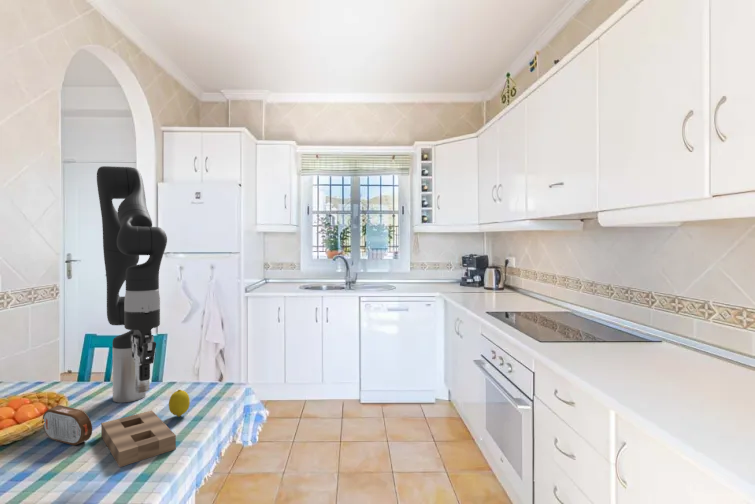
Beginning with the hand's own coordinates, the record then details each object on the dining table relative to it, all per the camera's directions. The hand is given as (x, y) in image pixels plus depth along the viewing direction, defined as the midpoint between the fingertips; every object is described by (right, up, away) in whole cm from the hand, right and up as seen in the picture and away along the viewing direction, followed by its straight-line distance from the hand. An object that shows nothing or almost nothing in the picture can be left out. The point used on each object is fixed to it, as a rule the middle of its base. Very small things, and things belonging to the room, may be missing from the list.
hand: (142, 378), depth 99 cm
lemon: (-1, -18, +20) cm, 26 cm away
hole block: (-4, -18, +4) cm, 19 cm away
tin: (-22, -18, +4) cm, 29 cm away
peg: (0, -3, 0) cm, 3 cm away
